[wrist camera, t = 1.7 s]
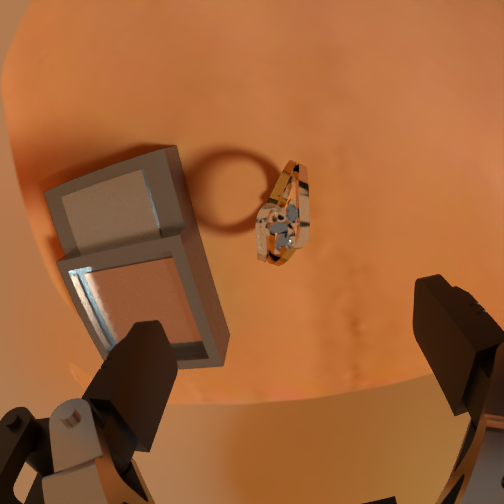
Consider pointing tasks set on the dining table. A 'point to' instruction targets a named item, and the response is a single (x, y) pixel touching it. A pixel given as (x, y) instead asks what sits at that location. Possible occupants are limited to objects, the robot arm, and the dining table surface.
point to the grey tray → (139, 257)
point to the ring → (284, 217)
